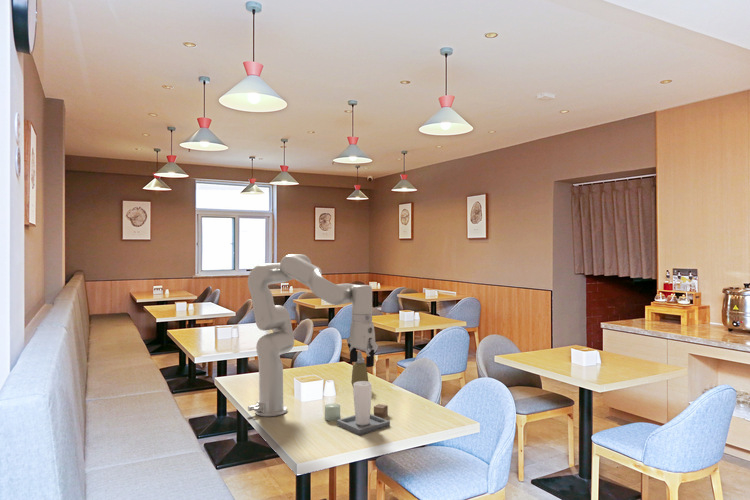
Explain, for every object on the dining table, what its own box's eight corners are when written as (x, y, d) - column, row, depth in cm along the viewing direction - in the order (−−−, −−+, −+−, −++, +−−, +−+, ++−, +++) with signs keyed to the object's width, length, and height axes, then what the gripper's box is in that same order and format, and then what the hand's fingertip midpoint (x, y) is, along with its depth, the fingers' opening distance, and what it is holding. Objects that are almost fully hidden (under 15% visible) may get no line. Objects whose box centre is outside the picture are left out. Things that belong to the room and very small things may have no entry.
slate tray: (359, 435, 176) (359, 430, 176) (336, 424, 187) (336, 420, 187) (389, 426, 185) (389, 421, 185) (366, 416, 196) (366, 412, 196)
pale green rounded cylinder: (330, 422, 190) (330, 409, 190) (321, 418, 195) (321, 405, 195) (343, 418, 194) (343, 406, 194) (334, 415, 198) (334, 402, 198)
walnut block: (382, 418, 194) (382, 408, 194) (373, 416, 196) (373, 406, 196) (387, 415, 198) (387, 405, 198) (378, 414, 200) (378, 403, 200)
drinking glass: (369, 427, 182) (369, 386, 182) (351, 426, 184) (351, 385, 184) (373, 421, 189) (373, 381, 189) (356, 420, 190) (355, 380, 190)
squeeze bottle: (371, 388, 236) (371, 350, 236) (362, 393, 229) (361, 353, 229) (357, 386, 240) (357, 348, 240) (347, 390, 233) (347, 351, 233)
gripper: (384, 320, 182) (384, 367, 182) (355, 314, 195) (355, 358, 195) (368, 321, 177) (368, 370, 177) (340, 316, 190) (339, 361, 191)
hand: (361, 364), depth 186 cm, fingers open, 9 cm apart
